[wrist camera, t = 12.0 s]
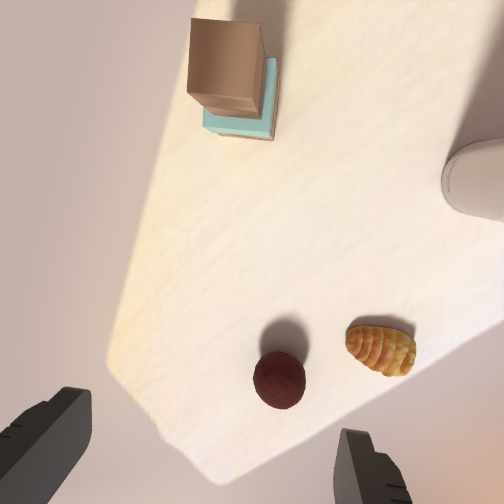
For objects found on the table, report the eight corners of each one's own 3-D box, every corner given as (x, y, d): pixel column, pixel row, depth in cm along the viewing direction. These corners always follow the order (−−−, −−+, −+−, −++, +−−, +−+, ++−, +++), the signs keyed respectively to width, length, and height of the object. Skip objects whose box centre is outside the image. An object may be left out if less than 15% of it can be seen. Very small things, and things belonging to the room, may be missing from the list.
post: (266, 67, 34) (259, 23, 24) (261, 119, 35) (252, 98, 26) (217, 62, 34) (191, 17, 25) (213, 115, 36) (186, 92, 26)
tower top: (277, 73, 39) (276, 58, 34) (270, 137, 40) (268, 132, 35) (216, 68, 39) (206, 53, 34) (212, 132, 41) (202, 126, 36)
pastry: (337, 352, 51) (341, 366, 47) (353, 312, 49) (359, 323, 46) (397, 373, 51) (406, 388, 47) (416, 333, 49) (426, 346, 46)
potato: (281, 396, 53) (280, 429, 46) (245, 364, 53) (239, 392, 46) (315, 367, 52) (320, 396, 45) (278, 333, 51) (277, 357, 44)
